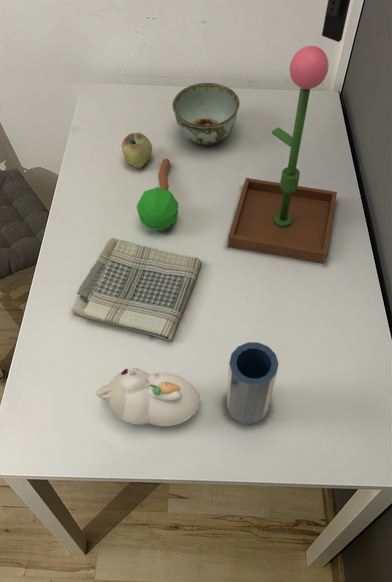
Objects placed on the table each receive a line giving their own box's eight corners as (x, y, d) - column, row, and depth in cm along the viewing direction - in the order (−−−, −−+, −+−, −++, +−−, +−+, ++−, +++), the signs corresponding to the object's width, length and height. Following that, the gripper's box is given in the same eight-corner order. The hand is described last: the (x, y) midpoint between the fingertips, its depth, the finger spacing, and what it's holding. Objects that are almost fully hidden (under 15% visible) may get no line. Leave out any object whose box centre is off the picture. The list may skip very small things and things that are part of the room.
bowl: (187, 112, 112) (185, 77, 105) (245, 122, 109) (247, 88, 102) (166, 151, 105) (163, 118, 98) (227, 164, 103) (228, 130, 96)
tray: (334, 201, 97) (337, 191, 95) (323, 263, 90) (326, 254, 87) (245, 187, 99) (245, 177, 97) (228, 246, 92) (228, 236, 90)
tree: (153, 181, 106) (141, 241, 93) (143, 147, 100) (129, 206, 88) (188, 176, 105) (181, 236, 92) (180, 141, 99) (172, 200, 86)
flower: (302, 222, 94) (340, 49, 66) (282, 236, 92) (312, 65, 64) (275, 200, 97) (300, 26, 69) (255, 213, 95) (272, 40, 67)
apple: (155, 147, 106) (152, 122, 101) (151, 173, 102) (148, 149, 97) (127, 146, 106) (123, 122, 101) (122, 172, 103) (117, 148, 97)
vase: (271, 391, 78) (281, 347, 65) (263, 429, 75) (273, 389, 62) (232, 383, 78) (235, 337, 66) (223, 419, 75) (225, 379, 63)
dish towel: (204, 263, 90) (203, 251, 88) (171, 345, 82) (170, 335, 79) (109, 241, 94) (106, 229, 91) (69, 317, 85) (64, 307, 83)
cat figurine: (204, 378, 69) (95, 368, 68) (199, 436, 69) (89, 426, 68) (201, 372, 78) (104, 363, 77) (196, 423, 78) (100, 414, 78)
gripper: (426, -236, 59) (375, -28, 77) (313, -170, 49) (285, 47, 68) (488, -226, 56) (420, -14, 75) (381, -155, 47) (334, 66, 65)
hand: (356, 16), depth 71 cm, fingers open, 13 cm apart
